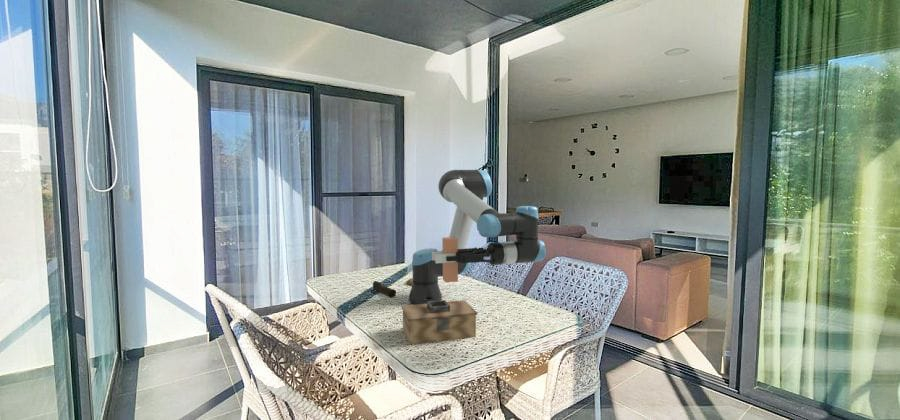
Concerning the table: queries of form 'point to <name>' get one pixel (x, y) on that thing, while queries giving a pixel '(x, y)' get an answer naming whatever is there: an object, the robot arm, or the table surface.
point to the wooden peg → (452, 267)
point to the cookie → (410, 282)
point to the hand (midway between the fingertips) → (434, 257)
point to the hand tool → (384, 289)
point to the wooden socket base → (438, 321)
